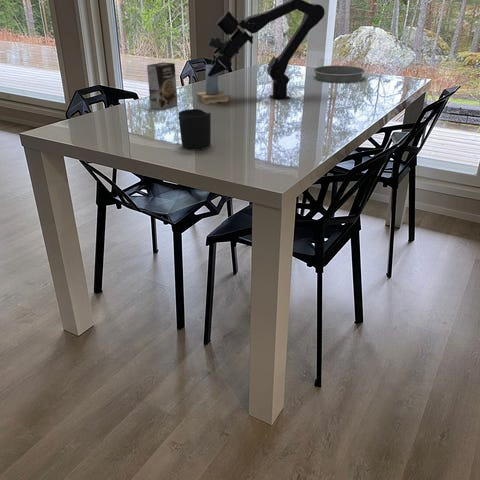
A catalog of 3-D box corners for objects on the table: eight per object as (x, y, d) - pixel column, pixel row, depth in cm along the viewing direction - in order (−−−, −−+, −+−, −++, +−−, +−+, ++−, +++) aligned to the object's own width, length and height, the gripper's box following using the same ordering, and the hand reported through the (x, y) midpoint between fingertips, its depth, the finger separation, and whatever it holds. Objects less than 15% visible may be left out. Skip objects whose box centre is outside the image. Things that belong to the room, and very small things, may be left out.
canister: (221, 93, 198) (221, 65, 193) (213, 95, 194) (213, 66, 189) (211, 92, 201) (211, 64, 195) (203, 93, 197) (203, 65, 192)
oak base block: (228, 101, 196) (228, 95, 195) (205, 104, 193) (205, 97, 192) (219, 96, 204) (218, 90, 203) (196, 99, 201) (196, 92, 200)
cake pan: (303, 77, 242) (303, 67, 239) (344, 72, 250) (344, 63, 248) (331, 86, 222) (332, 76, 220) (374, 81, 231) (375, 71, 229)
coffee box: (161, 110, 185) (158, 66, 177) (150, 108, 188) (145, 64, 180) (178, 105, 191) (175, 63, 183) (166, 103, 194) (163, 61, 187)
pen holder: (212, 140, 151) (210, 108, 146) (211, 150, 143) (210, 116, 138) (182, 141, 151) (179, 109, 146) (179, 151, 143) (177, 117, 138)
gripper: (217, 26, 194) (191, 56, 198) (222, 31, 178) (193, 63, 182) (237, 46, 199) (211, 75, 203) (243, 53, 182) (215, 84, 187)
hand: (207, 74), depth 193 cm, fingers open, 6 cm apart
